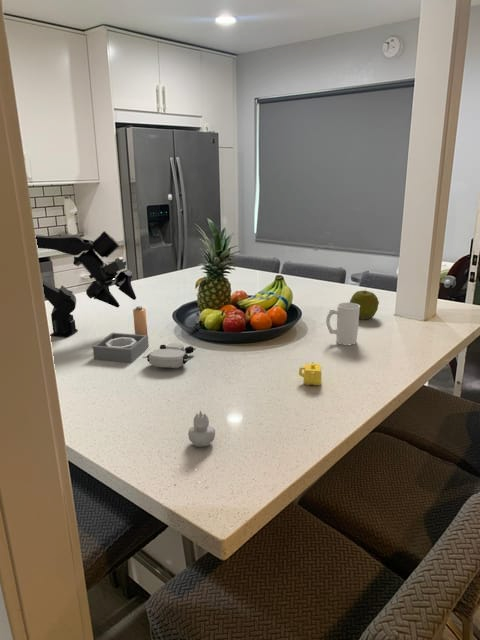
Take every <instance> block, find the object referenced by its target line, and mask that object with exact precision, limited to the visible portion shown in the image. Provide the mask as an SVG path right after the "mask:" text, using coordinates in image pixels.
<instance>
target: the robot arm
mask: <svg viewBox="0 0 480 640" xmlns="http://www.w3.org/2000/svg"><path fill="white" fill-rule="evenodd" d="M35 235H36V239H37V245H38V248H37V249H42V250H43V249H46V250H54V251H57V252H59V253H63V254H66V255H71V256H74V257H73V266H77V267H79V266H80V265H82V266H83V267H84V269H85V270H86V271H87V272H88V273H89V275H88V277H89V278H90V279H91V280H92V279H94V281H92V282H91V284H89V286H88V287H87V288H86V289H85V294H86V296H87V297H88V298H89V299H90V300H91V299H93V300H98V301H101V302H103V303H106V304H107V305H109V306H113V307H114V308H119V307H120V304H119V301H118V300H117V299H116V298H115V296H114V295H113V294H112V292H111V291H110V287H111V286H114V285H115V287H117V289H118V290H119V291H120V292H122V293H123V294H124V295H126V296H127V297H129V298H130V299H132V300H133V301H135V300H136V299H137V296H136V293H135V291H134V288H133V286H132V279H133V276H134V273H133V272H132V271H131V269H126V266H127V260H125V259H124V258H123V257H122V256H120V257H117V258H115V259H114V261H112V262H104V261H103V260H102V259H101V258H109V257H110V256H111V255H112V254H113V253H114V252H115V251H117V249H119V248H120V247H121V246H120V245H119V243H118V242H117V241H116V239H115V238H113V236H110V234H108V233H107V232H106V231H102V232H101V234H100V235H99V236H98V237H97V238H96V239H94V240H91V239H86V238H83V237H81V235H79V234H66V235H65V234H64V235H58V236H57V235H56V236H53V235H52V236H51V235H40V234H35ZM78 255H79V256H78ZM100 257H101V258H100ZM121 270H122V271H121ZM119 271H120V272H119ZM43 287H44V294H45V297H44V298H45V299H46V300H47V301H48V303H50V304H51V305H52V306H53V308H52V311H51V313H50V317H51V324H52V325H51V326H52V331H53V332H52V333H50V336H52V337H63V338H67V337H70V336H72V335H74V334H75V333H76V332H78V328H77V326H76V320H75V319H74V315H73V314H71V313H72V312H73V313H74V310H75V309H76V307H77V297H76V296H75V294H74V293H73V291H72V290H69V289H68V288H66V287H65V286H64V285H61V286H60V288H58V287H54V286H52V285H50V284H49V283H48V282H46V281H44V280H43Z"/></svg>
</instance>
